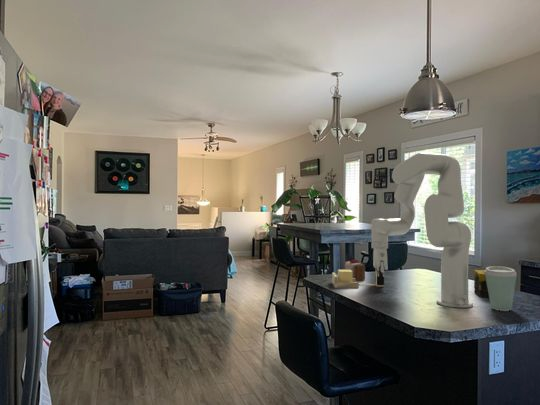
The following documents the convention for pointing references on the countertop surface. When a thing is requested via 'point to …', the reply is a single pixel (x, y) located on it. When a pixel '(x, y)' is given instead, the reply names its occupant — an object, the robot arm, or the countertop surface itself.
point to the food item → (356, 269)
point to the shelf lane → (344, 283)
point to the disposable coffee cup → (500, 287)
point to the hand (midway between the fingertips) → (379, 283)
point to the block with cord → (347, 277)
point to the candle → (480, 284)
